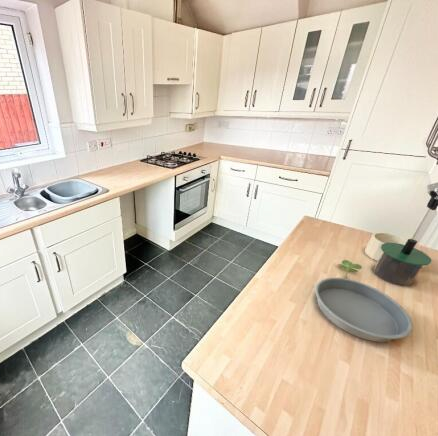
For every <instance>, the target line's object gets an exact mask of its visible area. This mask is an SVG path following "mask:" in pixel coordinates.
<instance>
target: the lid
mask: <svg viewBox="0 0 438 436" xmlns="http://www.w3.org/2000/svg"><path fill="white" fill-rule="evenodd" d="M406 240H407V242H406V244H405V245H403V244H398V243H384V244H382V245H381V249H382V251H383V252H384V253H386V254H387V255H388V256H390V257H392V258H394V259H396V260H399V261H402V262H405V263H408V264H412V265H419V266H422V267H424V266H429V265H431V263H432V258H431V257H430V256H429V255H428V254H427V253H425V252H423V251H422V250H420V249H417V248H415V247H416V245H417V244H418V241H417V240H416V239H412V238H408V239H406Z"/></svg>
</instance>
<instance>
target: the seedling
mask: <svg viewBox="0 0 438 436" xmlns="http://www.w3.org/2000/svg"><path fill="white" fill-rule="evenodd" d="M337 265H338V266H339V267H340V268H342V269H345V270H347V271H346V273H345V277H344V278H345V279H347V277H348V273H349V272H352V273H358V272H359V270H361V269H362V265H360V264H359V263H353V262H352V261H350V260H346V259H343V260H342V261H341V263H338V264H337Z"/></svg>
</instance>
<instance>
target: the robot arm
mask: <svg viewBox="0 0 438 436" xmlns="http://www.w3.org/2000/svg"><path fill="white" fill-rule="evenodd" d="M426 188H427V194H428V195H429V197H430V199H429V200H428V203H427V204H426V207H427V208H428V209H429V210H431V211H436V210H437V209H438V181H437V182H433V183H430V184H428V185H427V186H426Z"/></svg>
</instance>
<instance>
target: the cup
mask: <svg viewBox="0 0 438 436" xmlns="http://www.w3.org/2000/svg"><path fill="white" fill-rule="evenodd" d="M422 268H423V266H419V265H412V264H408V263H405V262H402V261H399V260H396V259H394V258H392V257H390V256H388V255H387V254H386V253H384V252H382V254H381V256H380V258H379V260H378V261H376V264H375V265H374V267H373V273H374V274H375V275H376V276H378V277H379V278H380V279H382V280H384V281H386V282H388V283H390V284H393V285H398V286H409V285H411V284H412V283H413V282H414V280H415V279H416V278H417V276H418V274H419V273H420V271H421V269H422Z"/></svg>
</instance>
